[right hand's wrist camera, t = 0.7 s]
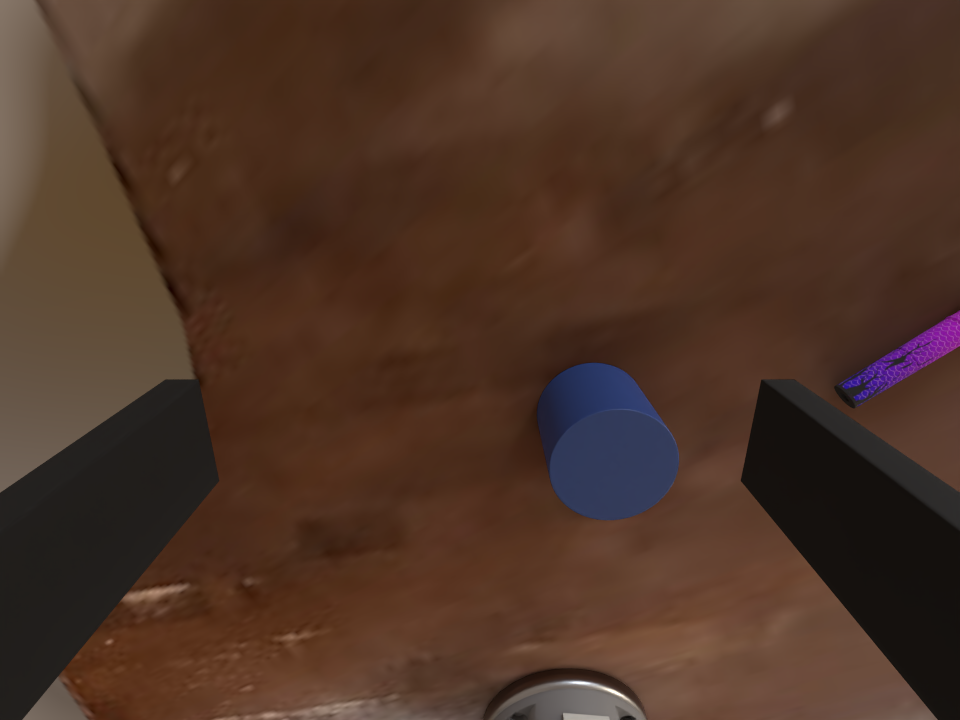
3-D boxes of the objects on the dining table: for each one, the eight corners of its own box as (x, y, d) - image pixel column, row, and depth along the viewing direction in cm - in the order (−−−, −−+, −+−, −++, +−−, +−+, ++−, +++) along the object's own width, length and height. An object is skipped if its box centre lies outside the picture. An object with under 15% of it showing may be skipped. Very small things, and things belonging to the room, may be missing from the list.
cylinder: (662, 423, 38) (701, 481, 31) (572, 475, 39) (590, 540, 33) (609, 342, 35) (640, 384, 29) (516, 399, 37) (524, 453, 30)
